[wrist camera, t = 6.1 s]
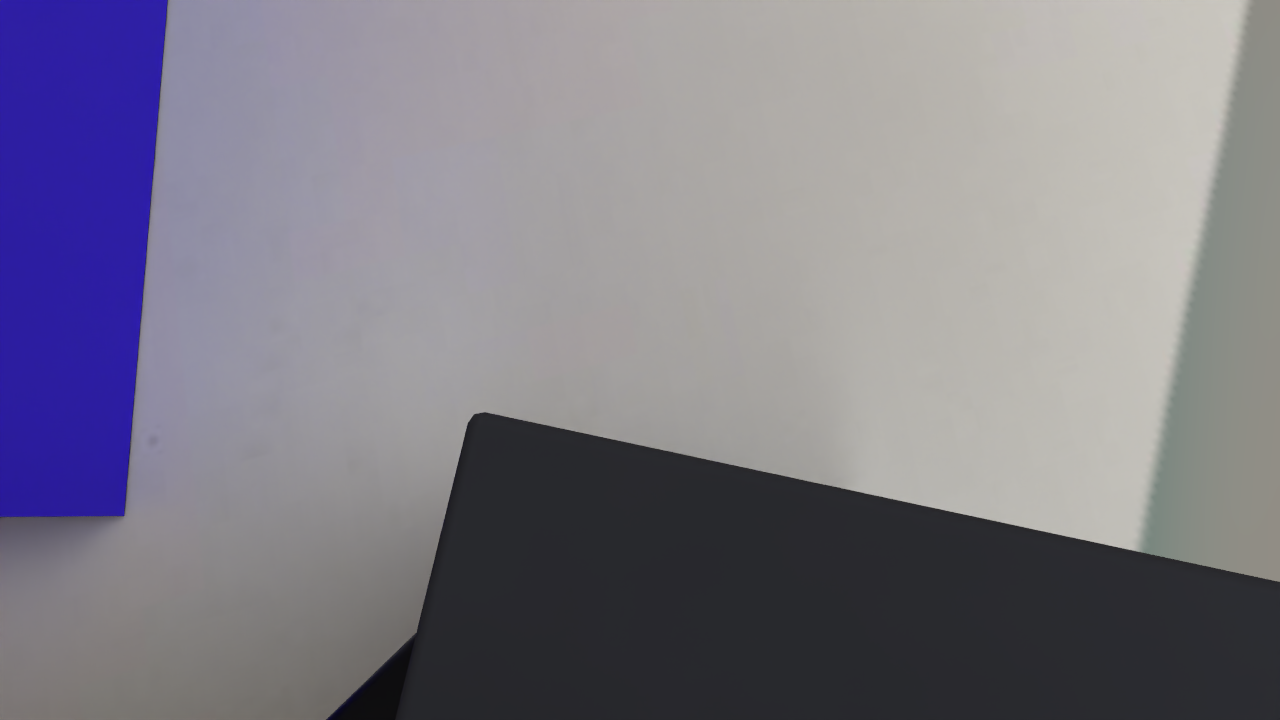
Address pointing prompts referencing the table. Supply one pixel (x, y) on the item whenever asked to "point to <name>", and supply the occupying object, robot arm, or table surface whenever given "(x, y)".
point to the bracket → (73, 245)
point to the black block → (800, 603)
